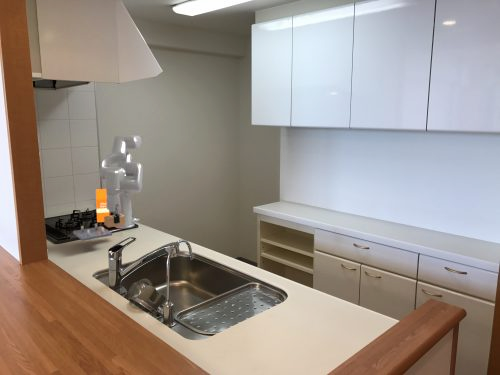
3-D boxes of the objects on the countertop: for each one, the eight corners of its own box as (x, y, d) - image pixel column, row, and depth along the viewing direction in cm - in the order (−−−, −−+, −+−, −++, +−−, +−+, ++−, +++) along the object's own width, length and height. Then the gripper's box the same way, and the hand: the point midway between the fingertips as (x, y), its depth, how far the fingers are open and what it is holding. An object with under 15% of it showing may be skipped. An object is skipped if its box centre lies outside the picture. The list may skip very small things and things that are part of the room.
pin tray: (101, 228, 237) (101, 221, 236) (112, 235, 225) (112, 227, 224) (73, 233, 227) (72, 225, 226) (82, 240, 215) (81, 233, 214)
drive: (121, 221, 244) (120, 213, 242) (125, 224, 239) (124, 215, 238) (104, 224, 237) (103, 216, 236) (108, 227, 233) (107, 219, 232)
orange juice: (97, 219, 260) (96, 188, 257) (112, 218, 263) (110, 187, 259) (97, 222, 253) (95, 190, 249) (112, 221, 256) (110, 190, 252)
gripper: (101, 189, 238) (102, 219, 242) (112, 195, 225) (114, 226, 229) (113, 187, 242) (115, 216, 247) (125, 193, 229) (127, 224, 234)
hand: (114, 221), depth 238 cm, fingers closed on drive, 6 cm apart
